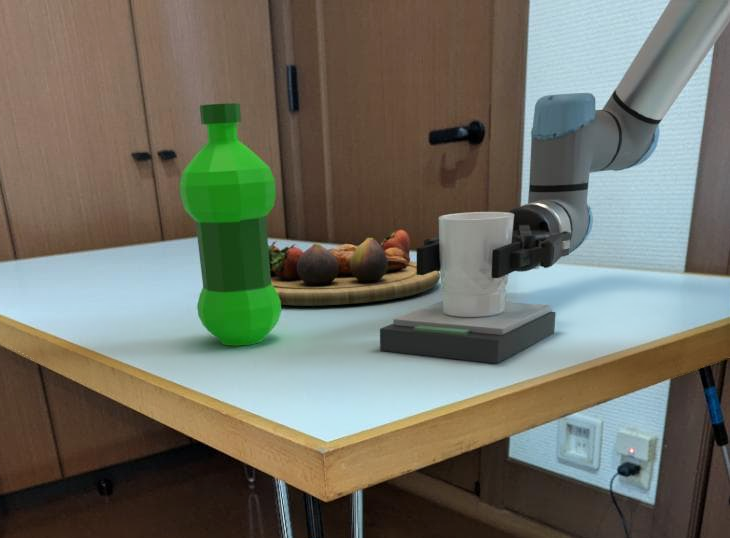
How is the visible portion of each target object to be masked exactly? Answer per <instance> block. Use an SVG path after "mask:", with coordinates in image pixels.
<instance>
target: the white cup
mask: <svg viewBox="0 0 730 538" xmlns="http://www.w3.org/2000/svg"><path fill="white" fill-rule="evenodd" d="M506 212H507V211H506ZM506 212H504V211H472V212H459V213H449V214H444V215H440V216H438V237H439V253H440V271H439V273H440V288H441V290H442V291H441V293H442V294H441V297H442V298H441V299H442V301H443V312H444V314H447V315H450V316H457V317H485V316H492V315H497V314H500V313H502V312H503V311H504V306H505V302H506V293H507V289H506V288H507V285H508V282H509V274H507V275H505V276H502V277H500V278H491V275H492V251H493V250H494V249H497V248H500V247H502V246H505V245H508V244H511V243H512V233H513V223H514V214H513V213H506Z"/></svg>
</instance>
